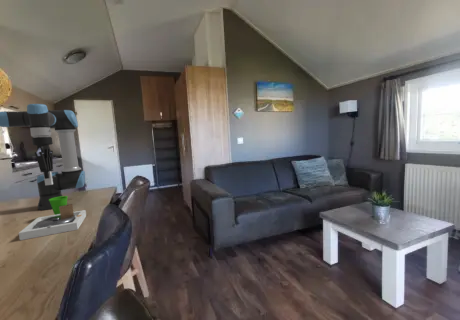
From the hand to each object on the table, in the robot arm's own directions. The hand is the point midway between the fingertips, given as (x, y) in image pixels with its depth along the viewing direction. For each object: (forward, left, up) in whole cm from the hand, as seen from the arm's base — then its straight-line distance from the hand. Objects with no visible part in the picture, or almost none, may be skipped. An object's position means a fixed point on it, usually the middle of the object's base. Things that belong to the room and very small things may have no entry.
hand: (49, 184), depth 110 cm
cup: (-21, -3, -23) cm, 31 cm away
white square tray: (-2, 0, -22) cm, 22 cm away
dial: (-2, 0, -21) cm, 21 cm away
